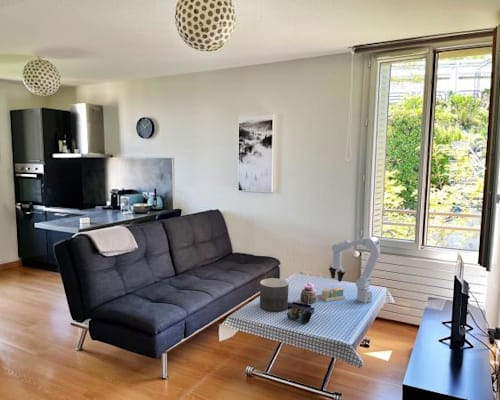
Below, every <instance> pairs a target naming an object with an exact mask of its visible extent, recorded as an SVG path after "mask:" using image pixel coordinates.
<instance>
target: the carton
mask: <svg viewBox="0 0 500 400" xmlns="http://www.w3.org/2000/svg"><path fill="white" fill-rule="evenodd" d="M332 289H333V288H327V287H326V288H324V289H322V290H321V291H322V292H321V295H322V299H321V300H323V301H324V300H326V298H331V293H332Z"/></svg>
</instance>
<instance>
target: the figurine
mask: <svg viewBox="0 0 500 400" xmlns="http://www.w3.org/2000/svg"><path fill="white" fill-rule="evenodd" d="M286 317H287V319H291V320H299V321H300V323H301V324H303V325H306V324H307V323H308V322H310V320H311V319H312V311H311V309H306V308H303V307H300V308H295V307H291V308H289V310H288V311H287V312H286Z"/></svg>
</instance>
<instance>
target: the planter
mask: <svg viewBox="0 0 500 400" xmlns="http://www.w3.org/2000/svg"><path fill="white" fill-rule="evenodd" d="M259 285H260V286H259V308H260V309H261V310H263V311H265V312H271V313H277V312H278V313H279V312H284V311H286V310H287V309H288V307H289V306H288V305H289V281H287V280H286V279H283V278H277V277H276V278H274V277H271V278H264V279H261V280H260V281H259Z"/></svg>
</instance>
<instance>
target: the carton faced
mask: <svg viewBox="0 0 500 400" xmlns="http://www.w3.org/2000/svg"><path fill="white" fill-rule="evenodd" d="M331 289H332V291H331V293H332V297H338V296H344V288H342V287H334V288H331Z"/></svg>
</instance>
